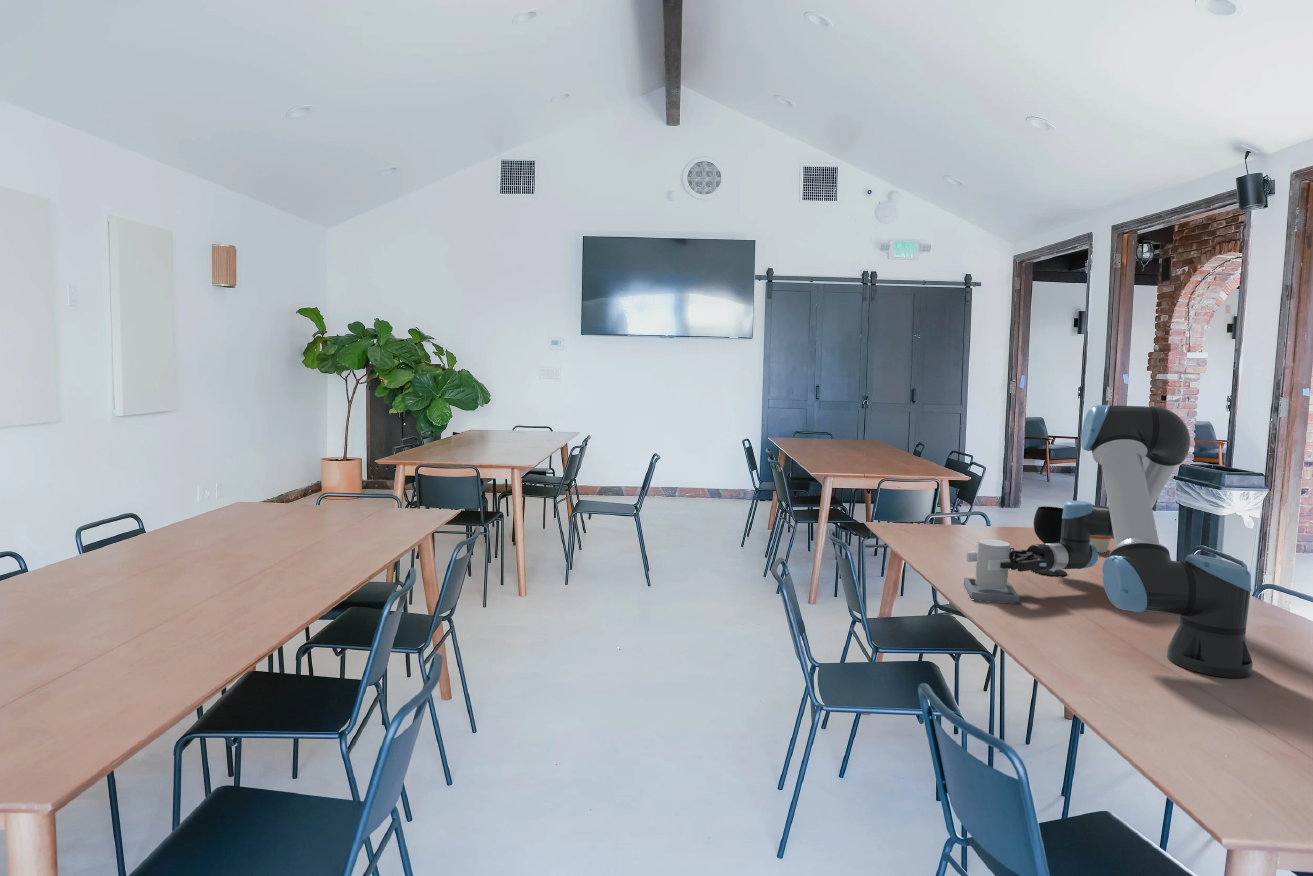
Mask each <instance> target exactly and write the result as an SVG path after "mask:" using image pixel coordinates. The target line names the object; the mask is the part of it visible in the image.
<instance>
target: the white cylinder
mask: <svg viewBox="0 0 1313 876" xmlns="http://www.w3.org/2000/svg"><path fill="white" fill-rule="evenodd" d="M1010 548H1011V543H1009V542H1007V541H1004V540H999V539H989V538H988V539H986V538H984V539H979V540H978V541H977V550H976V551H977V561H976V566H975V568H976V569H975V578H974V579H975V584H976V585H978V586H981V587H984V588H990V589H1005V588H1007V581H1008V579H1009V578H1008V576H1009V569H1006V570H988V560H998V559H1009V552H1010Z"/></svg>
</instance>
